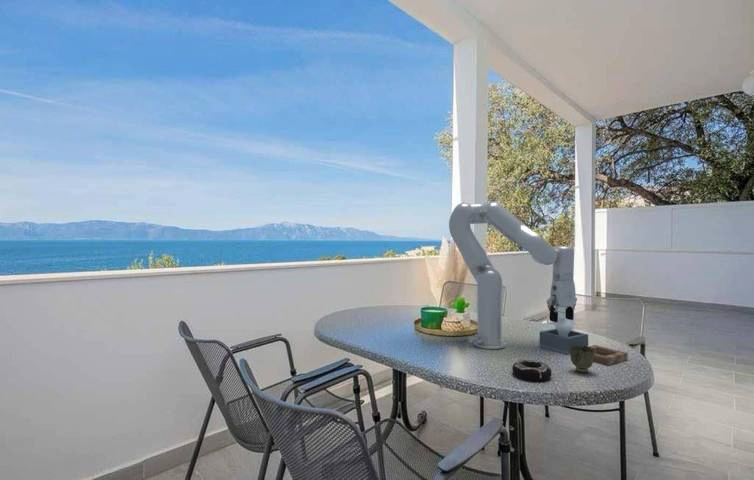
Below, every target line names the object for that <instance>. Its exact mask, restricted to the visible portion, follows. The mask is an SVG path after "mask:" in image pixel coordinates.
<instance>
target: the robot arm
mask: <svg viewBox="0 0 754 480" xmlns="http://www.w3.org/2000/svg"><path fill="white" fill-rule="evenodd" d="M450 214H451V215H450V216H449V221H448V228H449V229H448V230H449V233H450V236H451V239H452V241H453V242H454V244H455V245H456V248H457V249H458V251H459V252H460V254H461V257H462V259H463V262H464V264H465V265H466V267H467V268H468V271H469V272H470V273H471V275H472V277H473V279H474V280H475V282H476V285H477V286H476V287H477V290H476V293H477V295H476V299H477V302H476V308H477V309H476V310H477V313H476V314H477V317H476V318H477V322H476V323H477V325H476V326H477V327H476V328H477V333H475V336H474V337H469V338H468V342H469V343H470V344H472V343H473V345H474V346H475V347H477V348H479V349H480V348H481V349H486V350H501V349H504V348H505V347H507V346H506V344H507V343H506V342H505V341H504V340H502V338H503V337H502V335H503V333H502V331H503V330H502V327H503V325H502V322H503V321H502V320H503V319H502V293H503V279H502V274H501V273H500V272H499V270H497V269H496V268H495V267H494V265H493V263H492V262H491V260H490V259H489V257H488V256H487V252H486V250H485V249H484V248H483V246H482V245H481V244H480V242H479V240H478V239H477V237H476V236H475V234H474V232H473V230H472V227H471V224H472V225H474V224H475V225H477V224H478V225H479V224H489V225H491V226H492V227H493V228H495V229H496V231H498V232H499V233H500V234H501V235H503V236H504V237H505V238H507V240H509V241H510V242H512V243H513V244H516V245H517V246H519V247H521V248H522V249H523V250H525V251H527V253H529V254H530V255H531V258H532V260H533V261H534V262H536V263H537V264H540V265H541V264H542V265H544V266H549V265H552V282H551V285H550V296H549V298H548V299H547V300H546V304H547V308H548V311H549V321H550V322H553V323H555V322H558V312H557V310H558V308H559V306H560V307H566V308H567V309H566V313H565V318H567V319H569V320H573V319H574V320H575V309H576V306H577V301H578V298H577V296H576V284H575V281H573V280H574V271H575V249H574V247H573V246H568V245H567V246H564V245H559V246H558V245H557V246H552V245H551V244H550V242H548V241H546V240H545V239H544V238H543V237H542V236H540V235H539V234H537V232H535V231H534V230H533V229H531V228H530V227H528V226H527V225H526V224H524V223H523V222H522V220H519V218H517V217H516V216H515V215H513V214H512V213H511V212H510V210H508V209H507V208H505V206H503V205H501V204H500V203H499V202H496V201H490V202H488V203H479V204H476V203H475V204H473V203H471V204H470V203H469V202H461V203H458V204H457V205H456V206H455V207H454V209H453V211H452V212H451V213H450Z"/></svg>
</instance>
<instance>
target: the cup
mask: <svg viewBox="0 0 754 480" xmlns="http://www.w3.org/2000/svg"><path fill="white" fill-rule="evenodd" d="M569 348H570V354H569V357H570V360H571V364H572V365H573V366H574V367H575V370H576V372H578V373H579V374H580V373H581V374H586V373H588V372H589V369H590V368H591V367H592V366H593V364H594V362H593V360H594V353H595V349H593V350H591V347H589V346H588V347H587V346H586V345H584V346H583V347H581V345H579V348H578V346H577V345H575V346H574V345H573V347H571V346H569Z"/></svg>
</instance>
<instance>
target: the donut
mask: <svg viewBox="0 0 754 480" xmlns="http://www.w3.org/2000/svg"><path fill="white" fill-rule="evenodd" d="M511 370H512V372H513V374H514V375H515V377H518V378H520V379H522V380H525V381H528V382H544V381H546V380H547V381H548V380H549V379H550V378H551V376H552V369H551V367H550V366H549V365H548V364H546V363H544V362H542V361H538V360H534V359H533V360H532V359H520V360H518V361H515V362H514V363H513V364H512V367H511Z"/></svg>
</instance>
